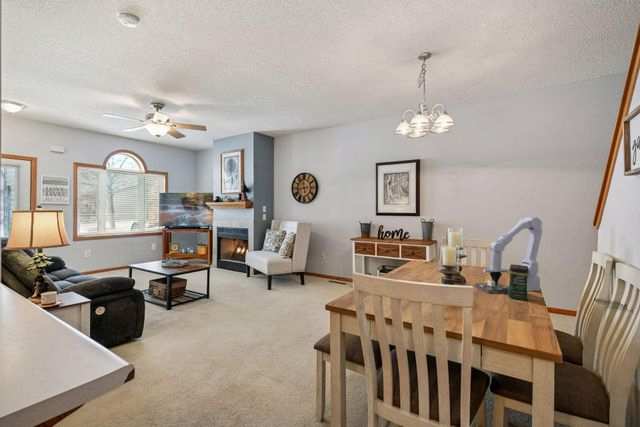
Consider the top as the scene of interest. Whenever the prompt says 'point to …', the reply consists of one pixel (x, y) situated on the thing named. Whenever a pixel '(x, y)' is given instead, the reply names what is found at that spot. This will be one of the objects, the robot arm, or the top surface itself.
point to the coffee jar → (518, 282)
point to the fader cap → (491, 283)
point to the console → (492, 288)
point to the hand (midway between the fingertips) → (495, 284)
